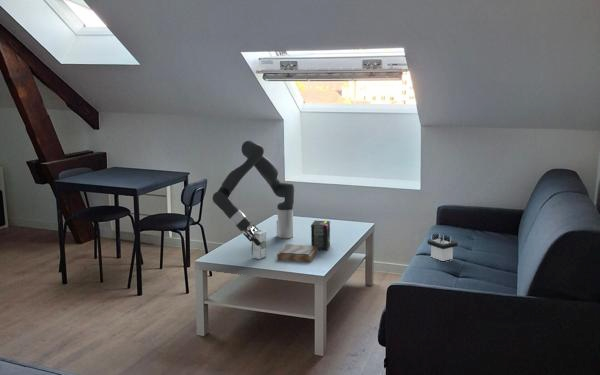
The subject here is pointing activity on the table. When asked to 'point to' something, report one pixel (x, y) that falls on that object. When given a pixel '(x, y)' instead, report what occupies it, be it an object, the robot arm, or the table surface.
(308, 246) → the brown wooden flat block
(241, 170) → the robot arm
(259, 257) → the syrup box
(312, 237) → the tampon box
